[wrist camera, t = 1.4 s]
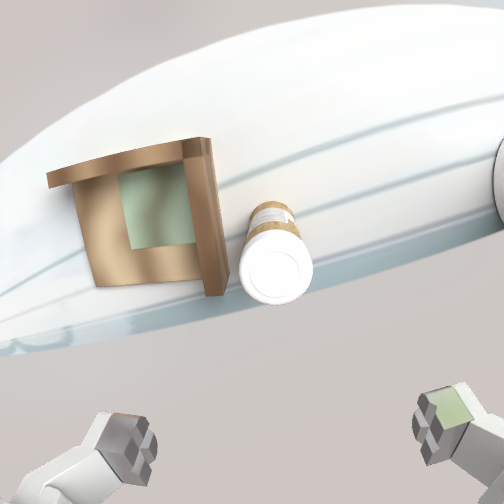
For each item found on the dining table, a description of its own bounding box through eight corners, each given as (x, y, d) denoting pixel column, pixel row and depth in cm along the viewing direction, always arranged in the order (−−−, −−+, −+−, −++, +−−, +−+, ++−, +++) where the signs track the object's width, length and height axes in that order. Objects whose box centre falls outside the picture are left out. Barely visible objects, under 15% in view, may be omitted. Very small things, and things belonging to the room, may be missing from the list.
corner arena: (210, 138, 29) (199, 136, 24) (229, 273, 34) (223, 295, 29) (73, 167, 31) (46, 173, 26) (99, 283, 35) (78, 303, 30)
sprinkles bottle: (295, 242, 32) (313, 305, 20) (251, 245, 33) (241, 309, 20) (294, 198, 31) (313, 235, 18) (247, 201, 31) (234, 240, 19)
